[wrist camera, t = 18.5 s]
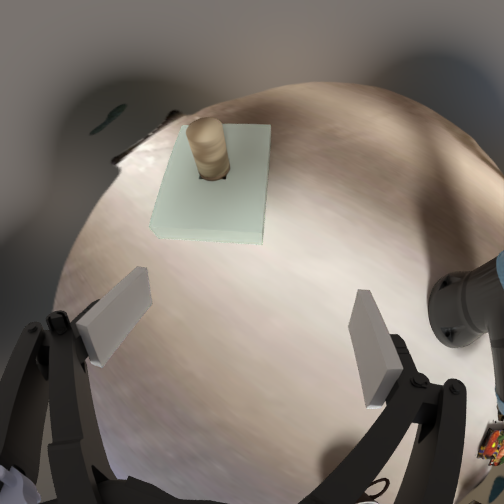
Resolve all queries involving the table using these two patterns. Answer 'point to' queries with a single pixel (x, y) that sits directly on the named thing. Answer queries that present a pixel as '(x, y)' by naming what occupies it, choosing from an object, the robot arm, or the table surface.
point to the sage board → (216, 191)
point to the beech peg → (209, 148)
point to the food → (493, 445)
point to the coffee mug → (368, 502)
